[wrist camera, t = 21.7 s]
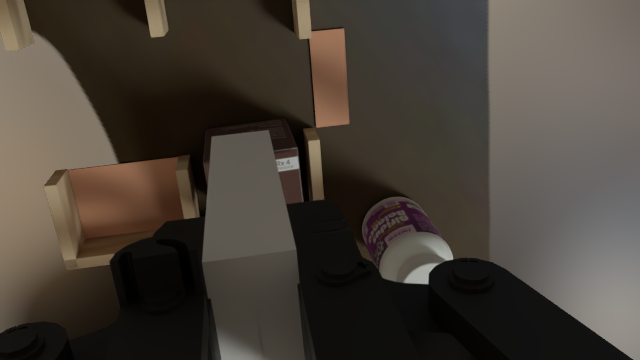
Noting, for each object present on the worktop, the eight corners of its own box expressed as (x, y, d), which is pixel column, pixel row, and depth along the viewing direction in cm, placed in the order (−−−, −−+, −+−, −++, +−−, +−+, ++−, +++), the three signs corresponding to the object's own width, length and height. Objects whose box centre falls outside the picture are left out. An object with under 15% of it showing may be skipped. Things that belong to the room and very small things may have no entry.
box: (217, 201, 44) (215, 247, 37) (204, 126, 42) (200, 161, 35) (295, 190, 45) (308, 233, 38) (287, 116, 42) (299, 147, 36)
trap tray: (-17, -100, 35) (-38, -104, 32) (335, -124, 37) (344, -129, 34) (77, 249, 44) (66, 270, 41) (354, 213, 46) (362, 229, 43)
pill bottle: (383, 183, 46) (421, 240, 37) (435, 211, 47) (484, 272, 38) (347, 237, 47) (375, 305, 38) (400, 263, 49) (438, 333, 40)
